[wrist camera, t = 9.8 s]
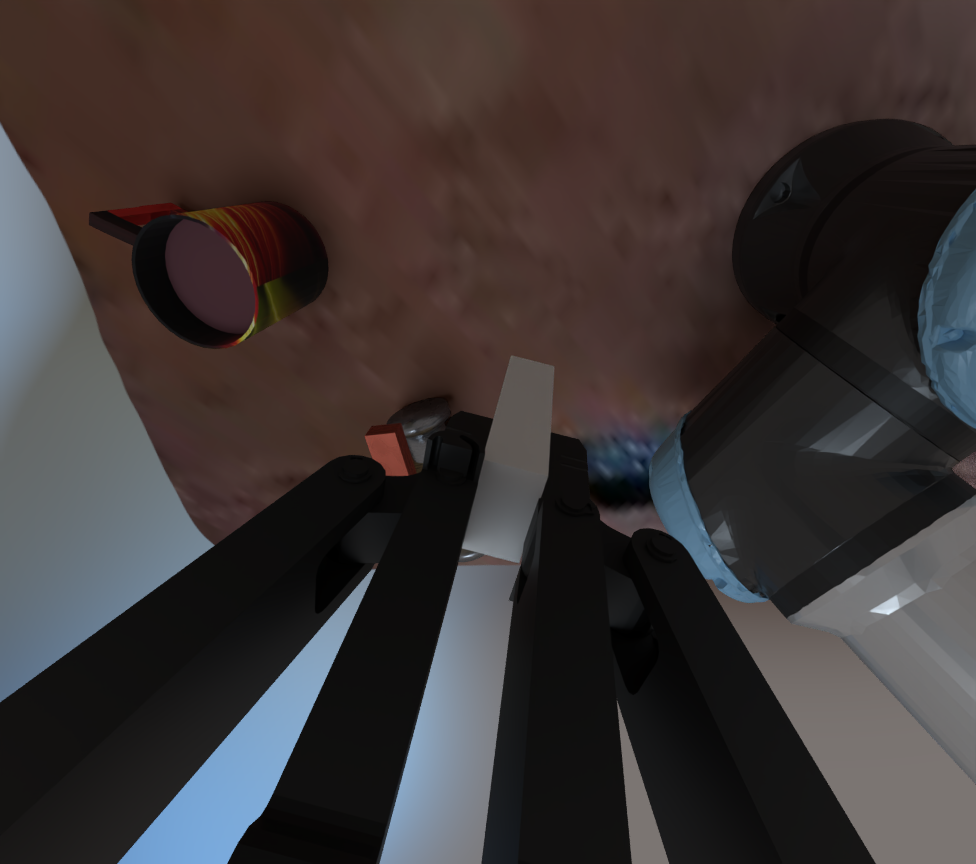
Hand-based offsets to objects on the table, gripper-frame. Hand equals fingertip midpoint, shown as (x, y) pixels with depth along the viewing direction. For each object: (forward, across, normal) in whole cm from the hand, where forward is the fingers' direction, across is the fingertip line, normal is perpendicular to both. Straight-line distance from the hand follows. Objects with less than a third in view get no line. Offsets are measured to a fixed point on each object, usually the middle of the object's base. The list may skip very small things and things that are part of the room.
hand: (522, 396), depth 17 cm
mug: (+30, -27, -6) cm, 40 cm away
